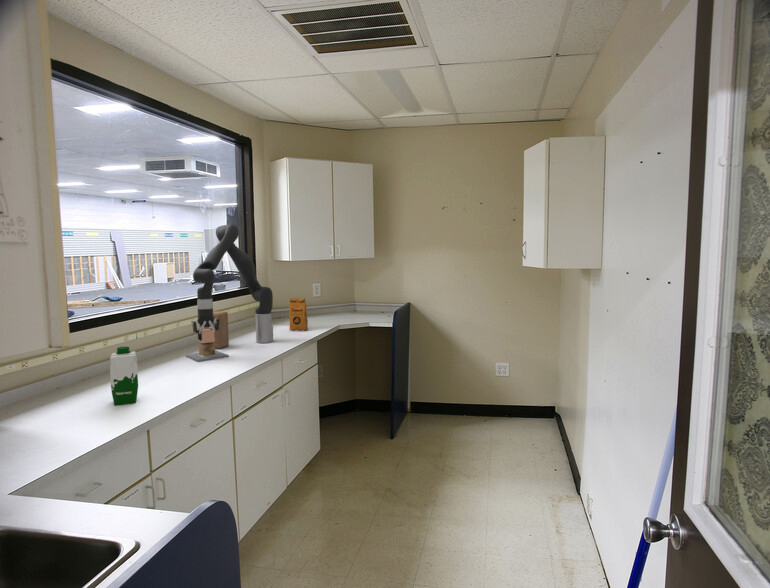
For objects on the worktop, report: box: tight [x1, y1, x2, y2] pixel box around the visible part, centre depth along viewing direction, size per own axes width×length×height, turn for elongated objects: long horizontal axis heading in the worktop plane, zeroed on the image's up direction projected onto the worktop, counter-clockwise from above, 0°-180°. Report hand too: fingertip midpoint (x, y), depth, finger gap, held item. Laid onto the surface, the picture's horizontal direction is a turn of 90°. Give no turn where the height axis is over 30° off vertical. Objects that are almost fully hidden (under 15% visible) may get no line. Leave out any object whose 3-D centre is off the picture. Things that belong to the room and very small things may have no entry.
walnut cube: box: [198, 342, 216, 356], centre depth 253 cm, size 6×6×6 cm
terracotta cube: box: [198, 328, 215, 343], centre depth 252 cm, size 6×6×6 cm
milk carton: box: [109, 346, 139, 406], centre depth 180 cm, size 9×9×20 cm
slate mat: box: [185, 349, 230, 363], centre depth 253 cm, size 16×16×1 cm
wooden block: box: [203, 310, 230, 350], centre depth 276 cm, size 10×10×20 cm
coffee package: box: [288, 297, 309, 332], centre depth 330 cm, size 10×12×22 cm
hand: (206, 339), depth 252 cm, fingers closed on terracotta cube, 6 cm apart
